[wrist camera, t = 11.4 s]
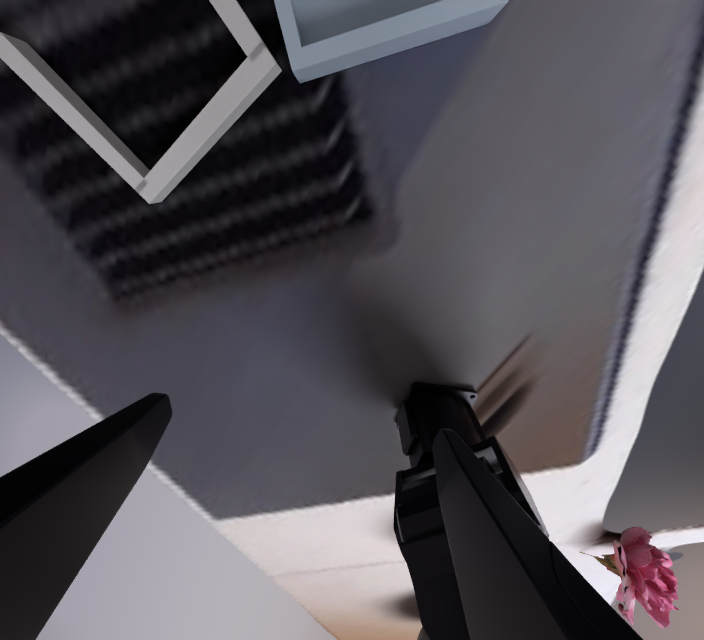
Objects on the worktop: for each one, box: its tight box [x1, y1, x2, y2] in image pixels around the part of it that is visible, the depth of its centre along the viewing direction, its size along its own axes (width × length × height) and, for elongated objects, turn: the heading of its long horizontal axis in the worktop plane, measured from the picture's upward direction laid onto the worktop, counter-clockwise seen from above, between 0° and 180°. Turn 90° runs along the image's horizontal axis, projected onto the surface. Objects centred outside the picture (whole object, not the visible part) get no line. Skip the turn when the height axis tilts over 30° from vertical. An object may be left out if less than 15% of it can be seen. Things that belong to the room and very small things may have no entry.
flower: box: [580, 527, 679, 628], centre depth 38 cm, size 11×10×10 cm
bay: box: [0, 0, 282, 204], centre depth 14 cm, size 9×11×1 cm
